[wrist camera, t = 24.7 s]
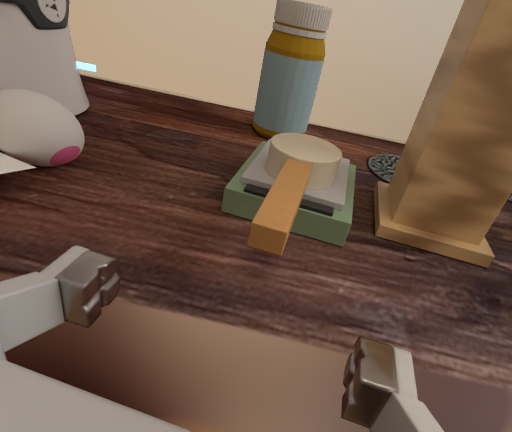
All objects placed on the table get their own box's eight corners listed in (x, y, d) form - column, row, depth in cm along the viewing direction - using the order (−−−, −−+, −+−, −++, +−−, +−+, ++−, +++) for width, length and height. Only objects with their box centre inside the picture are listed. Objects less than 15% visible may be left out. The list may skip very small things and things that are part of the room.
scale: (220, 211, 29) (225, 180, 28) (258, 159, 39) (263, 135, 38) (343, 247, 28) (354, 217, 26) (349, 184, 38) (358, 159, 36)
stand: (374, 236, 30) (635, -380, 14) (373, 190, 38) (542, -245, 22) (487, 268, 29) (910, -367, 13) (462, 214, 36) (710, -228, 21)
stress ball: (73, 200, 34) (103, 137, 35) (51, 182, 26) (90, 103, 28) (-13, 168, 32) (22, 103, 34) (-64, 139, 25) (-16, 57, 26)
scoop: (211, 245, 21) (216, 208, 19) (274, 152, 34) (279, 127, 33) (313, 277, 20) (325, 240, 19) (336, 169, 33) (344, 143, 32)
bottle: (257, 141, 44) (283, -1, 36) (247, 121, 50) (267, -6, 42) (311, 145, 46) (346, 11, 38) (294, 126, 51) (323, 5, 43)
